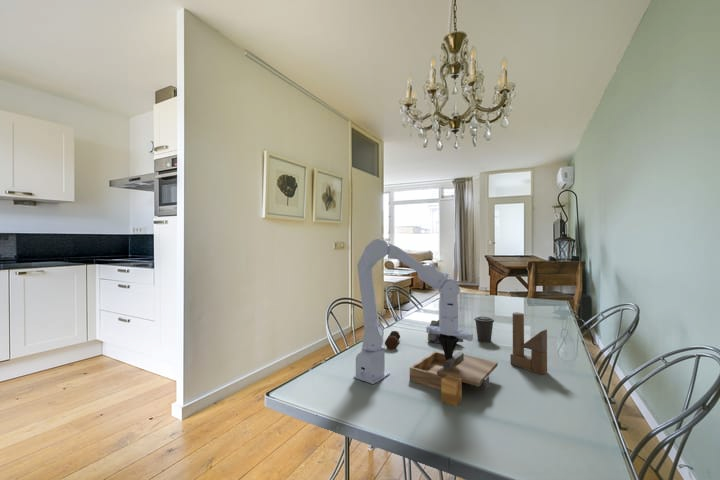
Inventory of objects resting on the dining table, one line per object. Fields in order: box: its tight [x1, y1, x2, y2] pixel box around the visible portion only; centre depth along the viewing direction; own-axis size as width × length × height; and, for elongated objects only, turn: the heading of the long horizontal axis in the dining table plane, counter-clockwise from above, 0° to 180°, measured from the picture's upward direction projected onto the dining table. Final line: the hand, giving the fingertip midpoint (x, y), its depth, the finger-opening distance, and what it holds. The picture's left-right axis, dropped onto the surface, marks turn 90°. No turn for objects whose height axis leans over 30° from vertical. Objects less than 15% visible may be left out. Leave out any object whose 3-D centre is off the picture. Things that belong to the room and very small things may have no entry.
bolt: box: [384, 330, 401, 350], centre depth 132 cm, size 6×5×15 cm
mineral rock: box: [427, 319, 465, 344], centre depth 132 cm, size 13×11×10 cm
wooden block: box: [510, 311, 548, 376], centre depth 106 cm, size 4×11×18 cm, turn 34°
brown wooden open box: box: [409, 351, 454, 391], centre depth 100 cm, size 18×12×4 cm, turn 141°
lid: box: [437, 351, 498, 391], centre depth 94 cm, size 18×13×5 cm
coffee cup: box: [474, 316, 495, 343], centre depth 135 cm, size 8×8×10 cm
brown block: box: [440, 375, 463, 407], centre depth 84 cm, size 4×4×6 cm
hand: (448, 359), depth 98 cm, fingers closed
